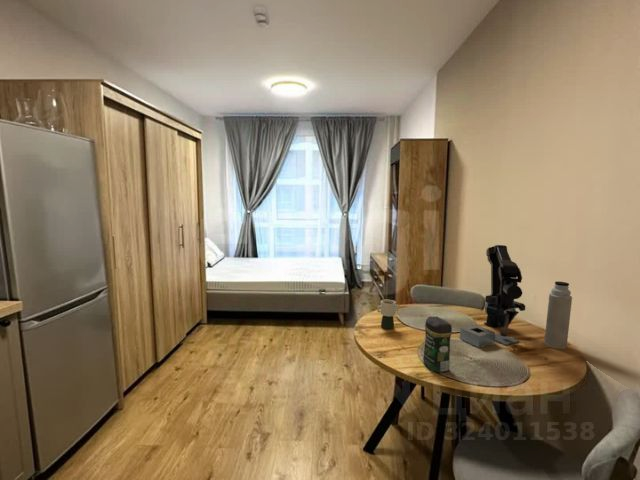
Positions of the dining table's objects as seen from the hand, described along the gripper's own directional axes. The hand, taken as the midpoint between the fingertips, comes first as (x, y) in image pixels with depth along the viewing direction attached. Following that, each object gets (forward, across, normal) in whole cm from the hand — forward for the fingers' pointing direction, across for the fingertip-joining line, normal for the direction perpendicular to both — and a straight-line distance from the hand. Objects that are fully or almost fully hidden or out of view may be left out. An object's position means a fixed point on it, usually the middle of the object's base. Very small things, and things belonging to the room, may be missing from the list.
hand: (504, 326), depth 150 cm
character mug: (+6, +39, -33) cm, 51 cm away
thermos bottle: (+6, -16, +13) cm, 22 cm away
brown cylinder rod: (+4, 0, 0) cm, 4 cm away
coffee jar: (+6, +46, +6) cm, 47 cm away
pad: (+6, 0, 0) cm, 6 cm away
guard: (+6, +12, -4) cm, 14 cm away
